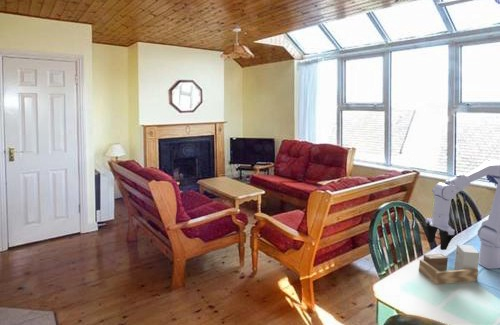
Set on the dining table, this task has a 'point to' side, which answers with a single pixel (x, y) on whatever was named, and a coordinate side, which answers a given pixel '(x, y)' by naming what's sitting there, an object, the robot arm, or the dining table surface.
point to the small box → (466, 257)
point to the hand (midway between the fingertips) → (437, 245)
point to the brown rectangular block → (437, 261)
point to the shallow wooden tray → (447, 274)
